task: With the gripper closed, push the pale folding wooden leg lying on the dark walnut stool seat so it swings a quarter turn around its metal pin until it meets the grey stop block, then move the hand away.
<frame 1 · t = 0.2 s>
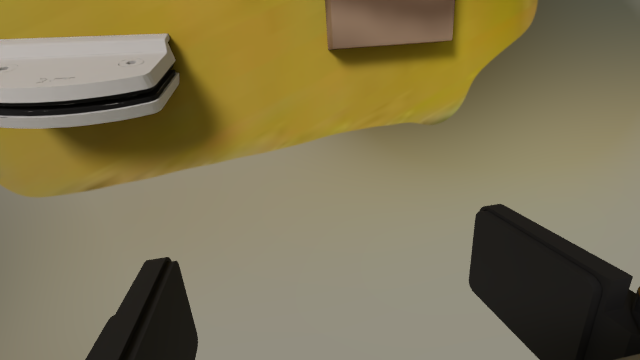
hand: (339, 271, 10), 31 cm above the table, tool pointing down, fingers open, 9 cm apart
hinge: (96, 77, 34), on the table
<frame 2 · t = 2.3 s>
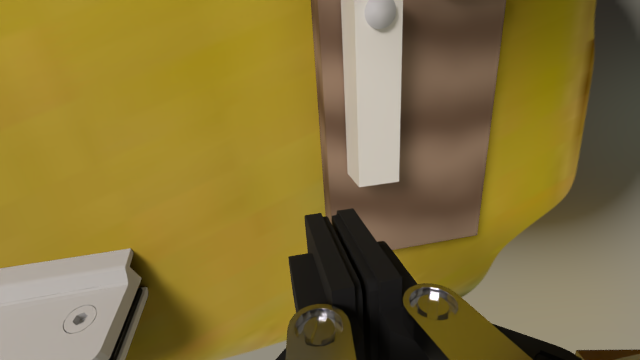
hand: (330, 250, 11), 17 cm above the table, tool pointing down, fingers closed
stool seat: (399, 111, 27), on the table
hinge: (45, 300, 27), on the table
folding leg: (372, 92, 22), point 4 cm above the table, hinge at 0.0°
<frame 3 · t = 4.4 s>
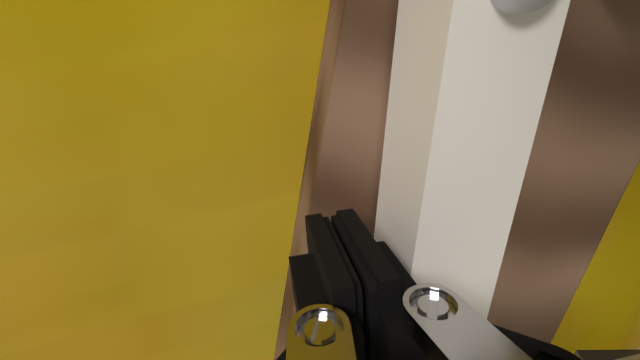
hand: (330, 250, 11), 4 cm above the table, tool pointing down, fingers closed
stool seat: (446, 188, 15), on the table
folding leg: (450, 160, 10), point 4 cm above the table, hinge at 7.5°, touching gripper
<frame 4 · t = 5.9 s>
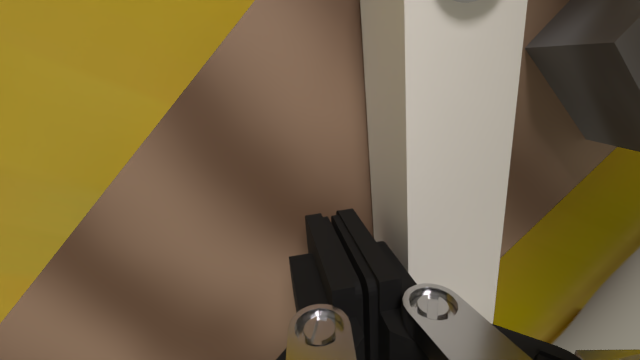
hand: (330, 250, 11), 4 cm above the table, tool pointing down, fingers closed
stool seat: (327, 198, 14), on the table
folding leg: (434, 153, 10), point 4 cm above the table, hinge at 49.1°, touching gripper
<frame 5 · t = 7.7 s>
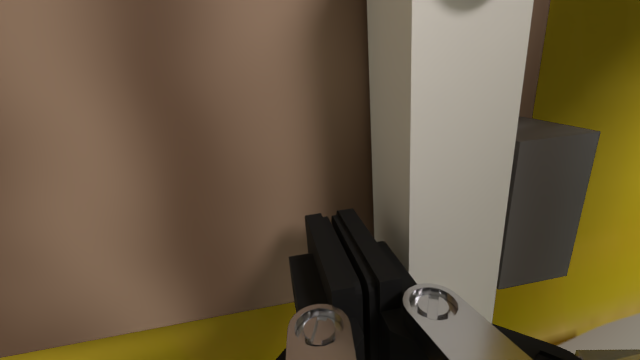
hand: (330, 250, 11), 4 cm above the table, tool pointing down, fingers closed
stool seat: (210, 124, 12), on the table
folding leg: (437, 148, 10), point 4 cm above the table, hinge at 90.8°, touching gripper
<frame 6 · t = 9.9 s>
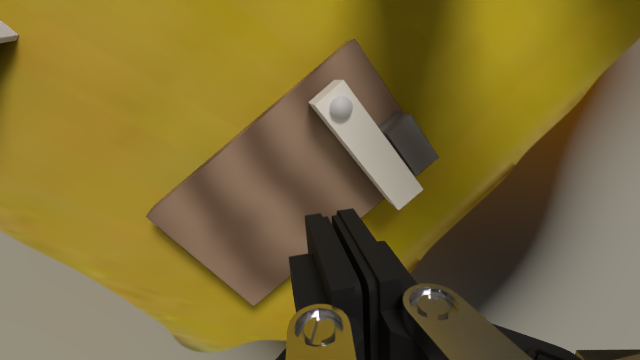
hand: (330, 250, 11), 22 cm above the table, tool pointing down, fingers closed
stool seat: (295, 177, 33), on the table
folding leg: (368, 147, 29), point 4 cm above the table, hinge at 90.9°
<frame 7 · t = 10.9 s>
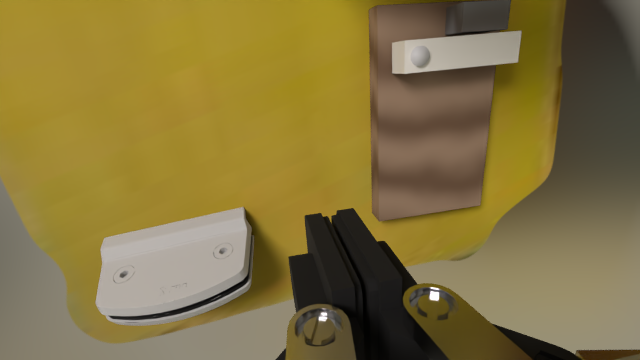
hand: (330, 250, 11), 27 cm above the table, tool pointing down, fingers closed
stool seat: (425, 116, 39), on the table
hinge: (186, 248, 39), on the table
folding leg: (456, 52, 33), point 4 cm above the table, hinge at 90.9°
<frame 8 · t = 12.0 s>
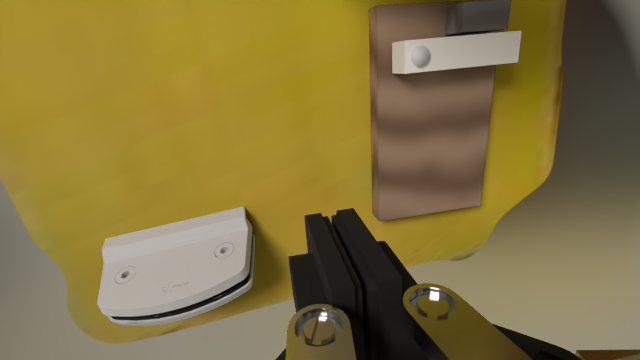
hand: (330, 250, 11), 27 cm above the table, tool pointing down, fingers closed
stool seat: (425, 116, 39), on the table
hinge: (187, 248, 39), on the table
folding leg: (456, 52, 33), point 4 cm above the table, hinge at 90.9°
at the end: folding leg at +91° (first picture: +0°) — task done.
